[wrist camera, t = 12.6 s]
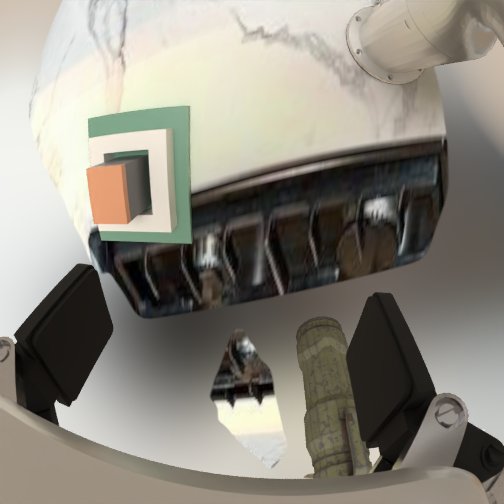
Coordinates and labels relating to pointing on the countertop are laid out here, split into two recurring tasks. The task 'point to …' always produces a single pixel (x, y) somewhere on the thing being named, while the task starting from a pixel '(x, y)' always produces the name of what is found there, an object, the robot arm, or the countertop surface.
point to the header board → (180, 165)
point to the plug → (119, 189)
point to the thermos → (329, 401)
